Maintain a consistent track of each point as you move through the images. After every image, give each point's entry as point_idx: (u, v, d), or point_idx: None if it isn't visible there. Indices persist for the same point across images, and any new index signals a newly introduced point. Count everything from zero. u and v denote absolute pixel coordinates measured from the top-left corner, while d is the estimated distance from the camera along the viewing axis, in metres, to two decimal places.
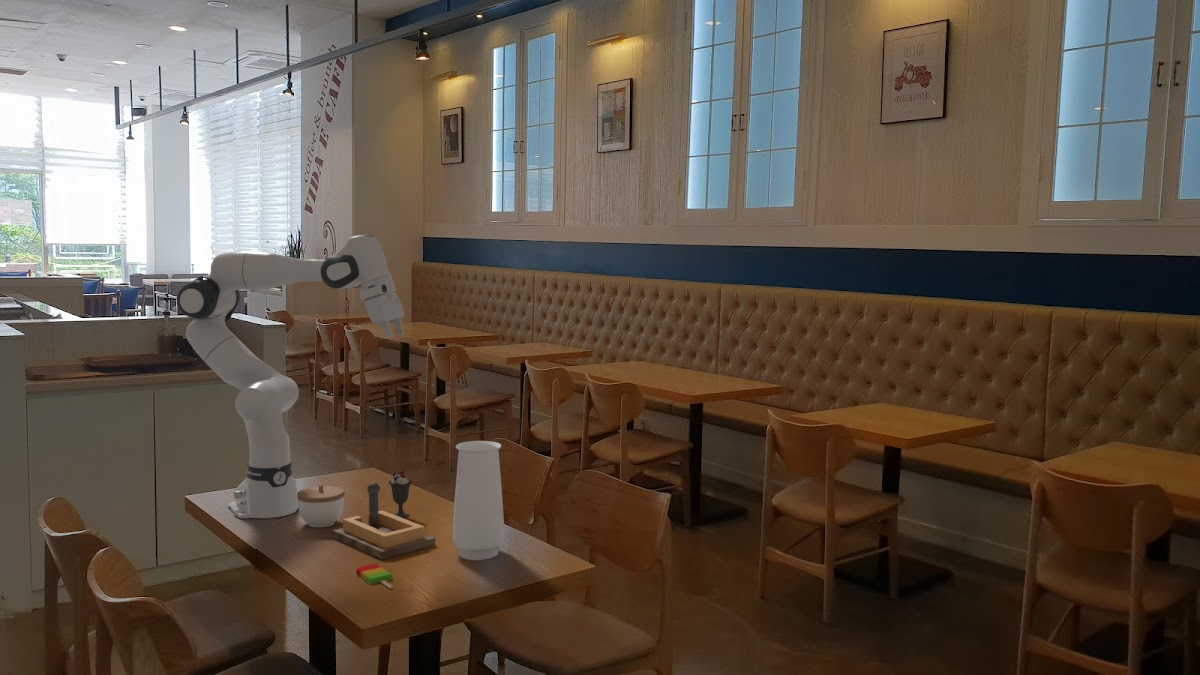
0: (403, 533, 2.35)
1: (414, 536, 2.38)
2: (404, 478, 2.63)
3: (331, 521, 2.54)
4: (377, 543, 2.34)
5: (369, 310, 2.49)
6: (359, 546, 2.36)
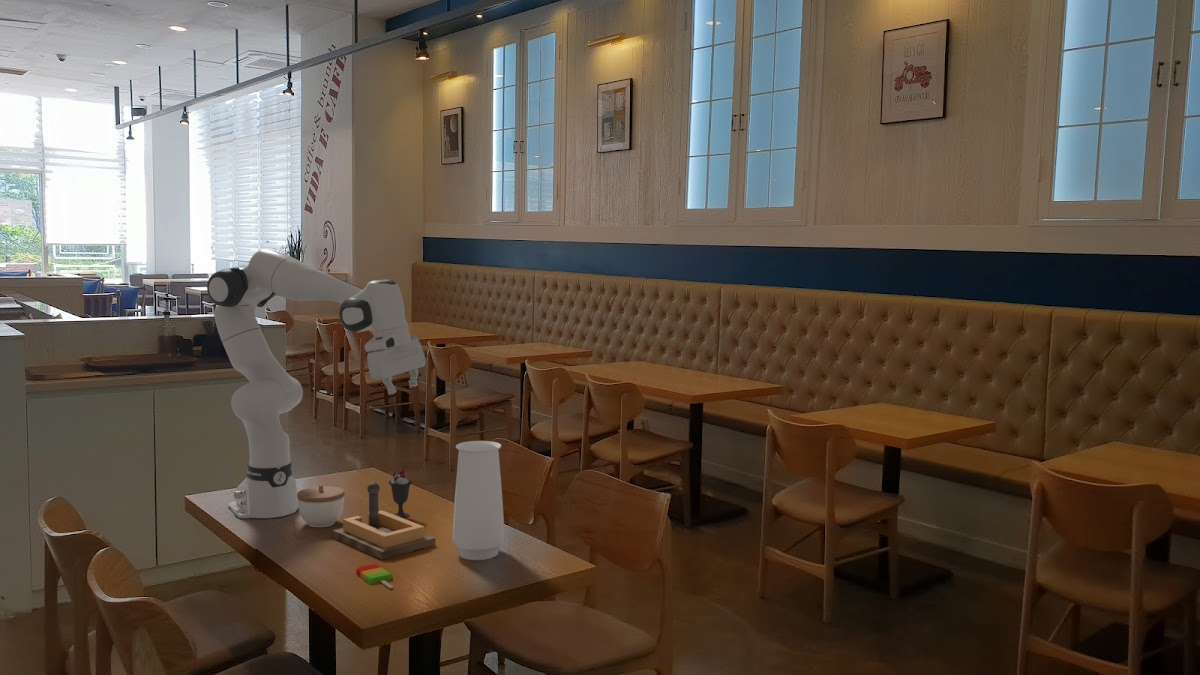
0: (403, 533, 2.35)
1: (414, 536, 2.38)
2: (404, 478, 2.63)
3: (331, 521, 2.54)
4: (377, 543, 2.34)
5: (370, 364, 2.38)
6: (359, 546, 2.36)
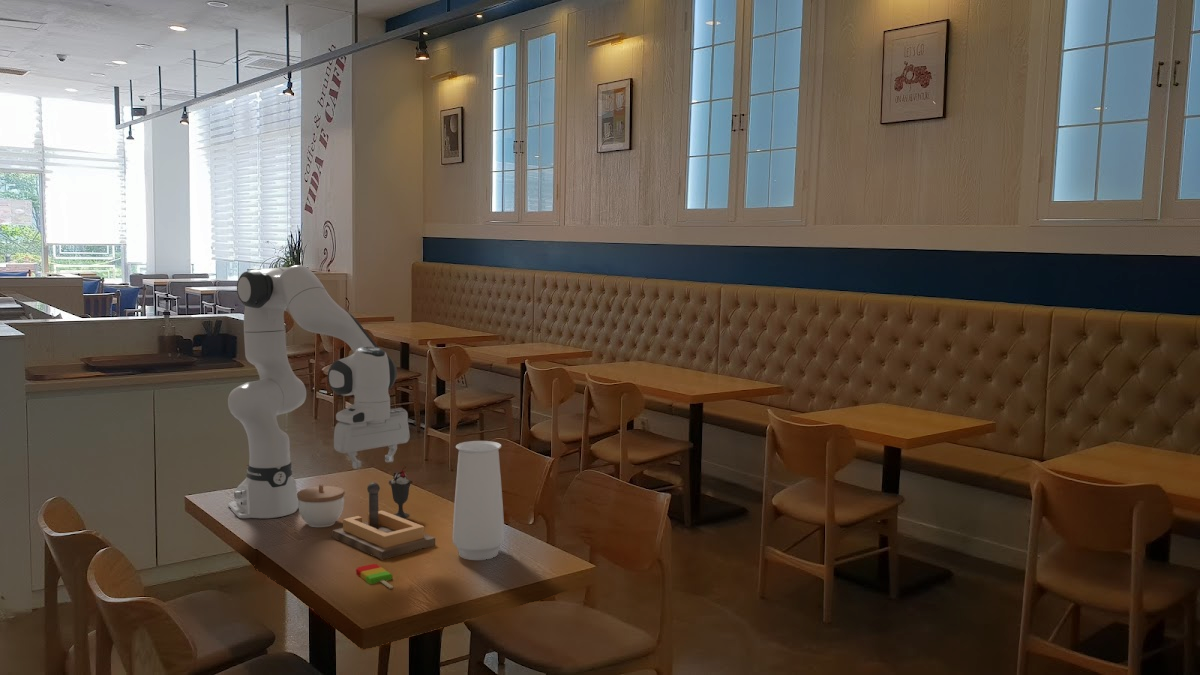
0: (403, 533, 2.35)
1: (414, 536, 2.38)
2: (404, 478, 2.63)
3: (331, 521, 2.54)
4: (377, 543, 2.34)
5: (335, 435, 2.28)
6: (359, 546, 2.36)
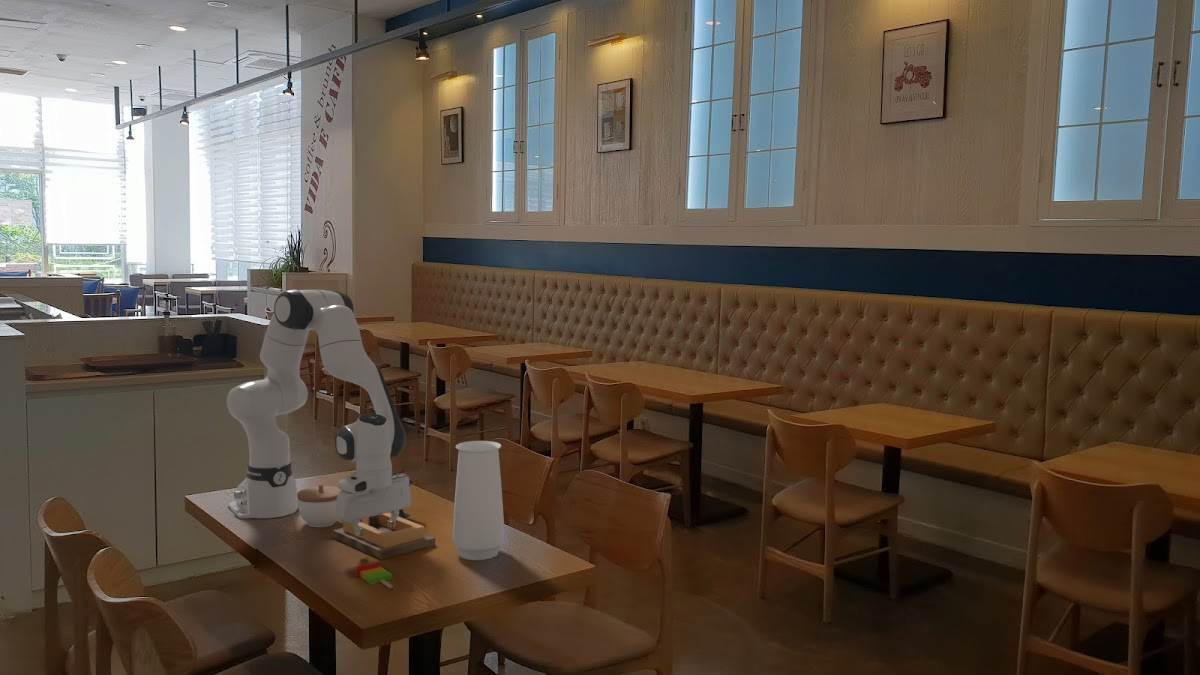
0: (403, 533, 2.35)
1: (414, 536, 2.38)
2: None
3: (331, 521, 2.54)
4: (377, 543, 2.34)
5: (337, 504, 2.29)
6: (359, 546, 2.36)
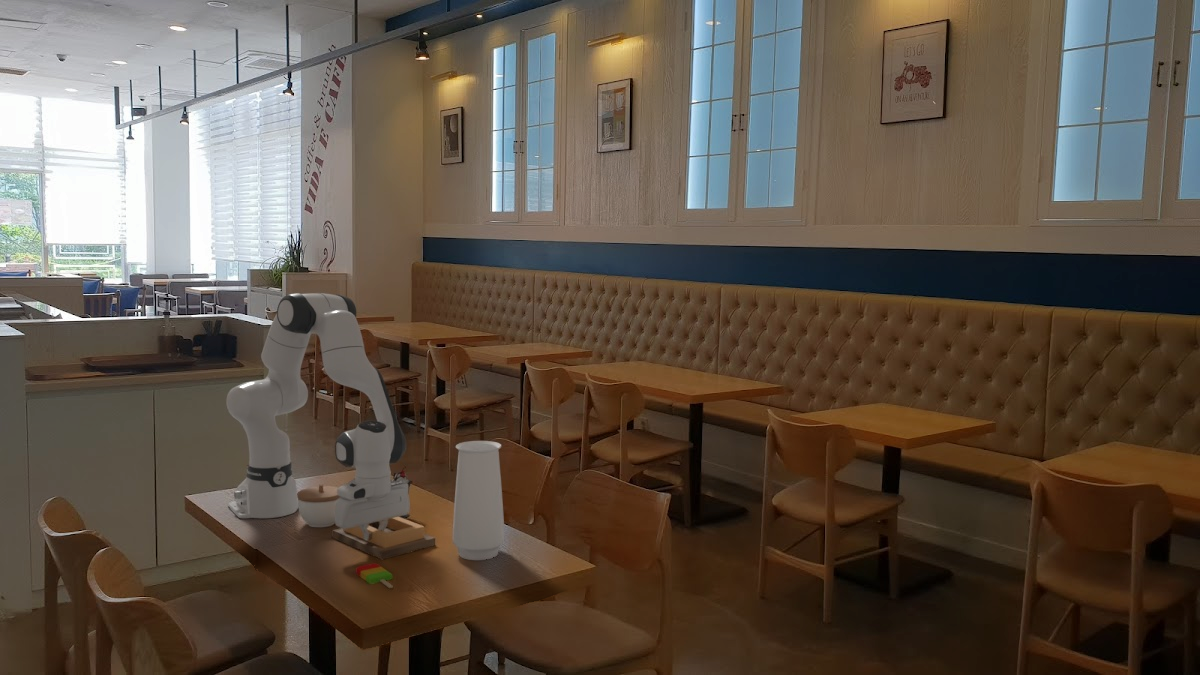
0: (403, 533, 2.35)
1: (414, 536, 2.38)
2: (404, 478, 2.63)
3: (331, 521, 2.54)
4: (377, 543, 2.34)
5: (336, 510, 2.30)
6: (359, 546, 2.36)
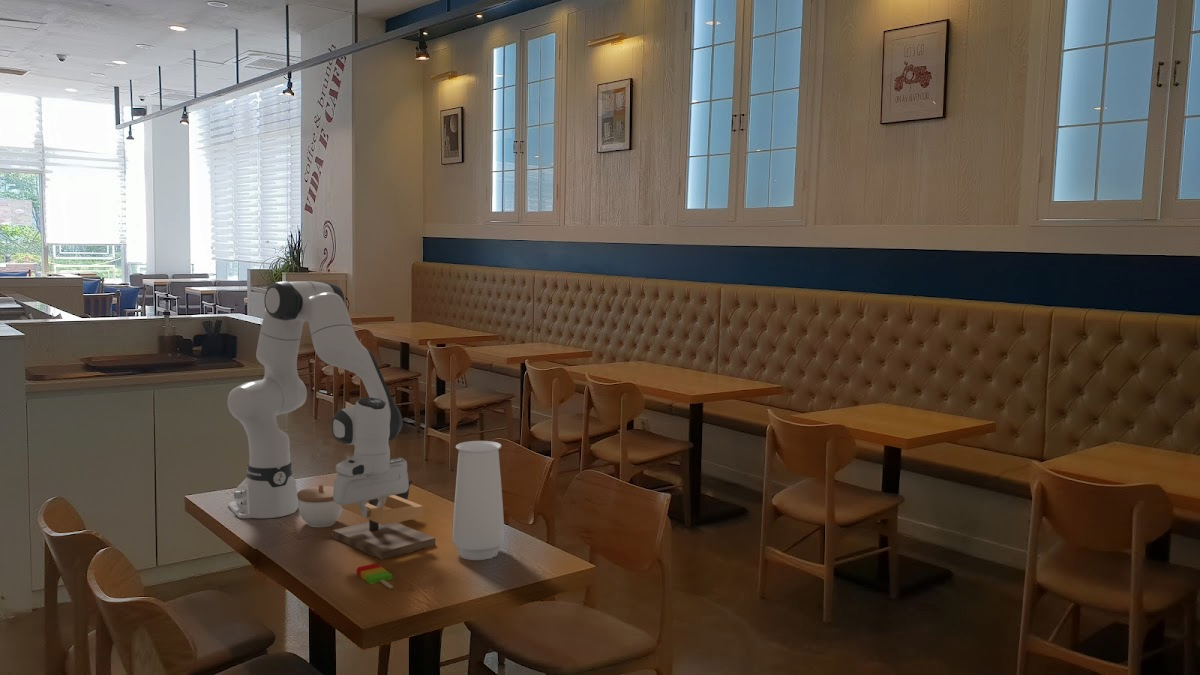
0: (401, 511, 2.35)
1: (412, 515, 2.37)
2: None
3: (331, 521, 2.54)
4: (375, 520, 2.33)
5: (334, 487, 2.29)
6: (359, 546, 2.36)
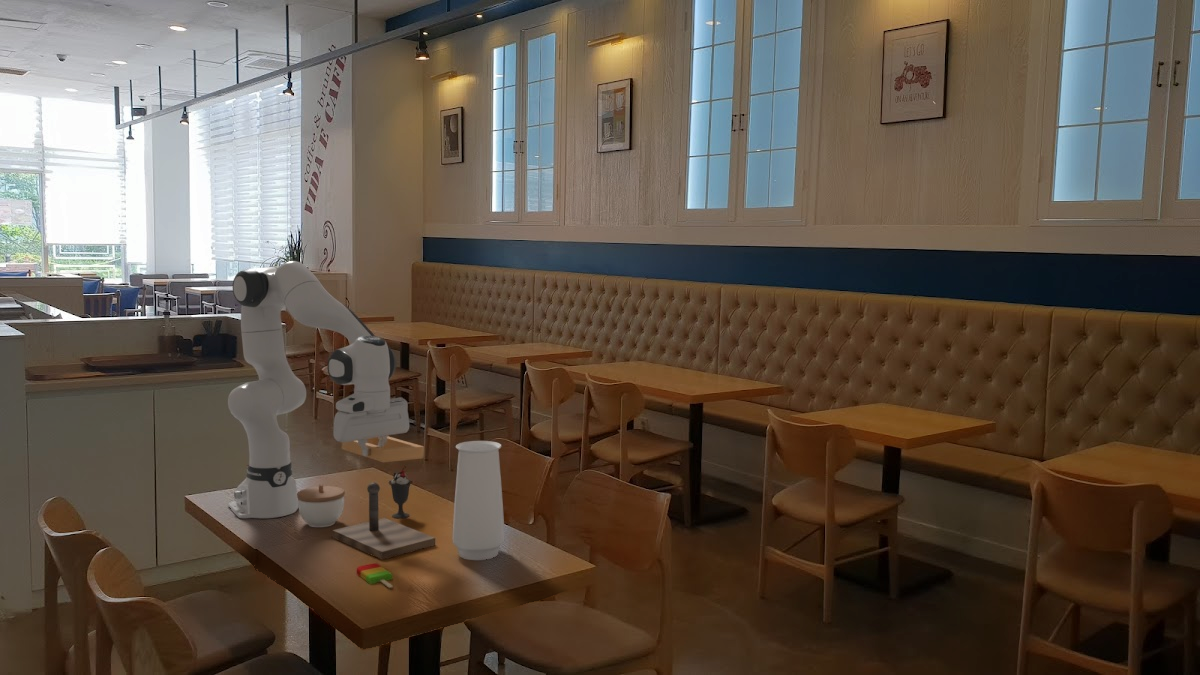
0: (402, 450, 2.33)
1: (413, 455, 2.35)
2: (404, 478, 2.63)
3: (331, 521, 2.54)
4: (376, 458, 2.31)
5: (335, 424, 2.27)
6: (359, 546, 2.36)
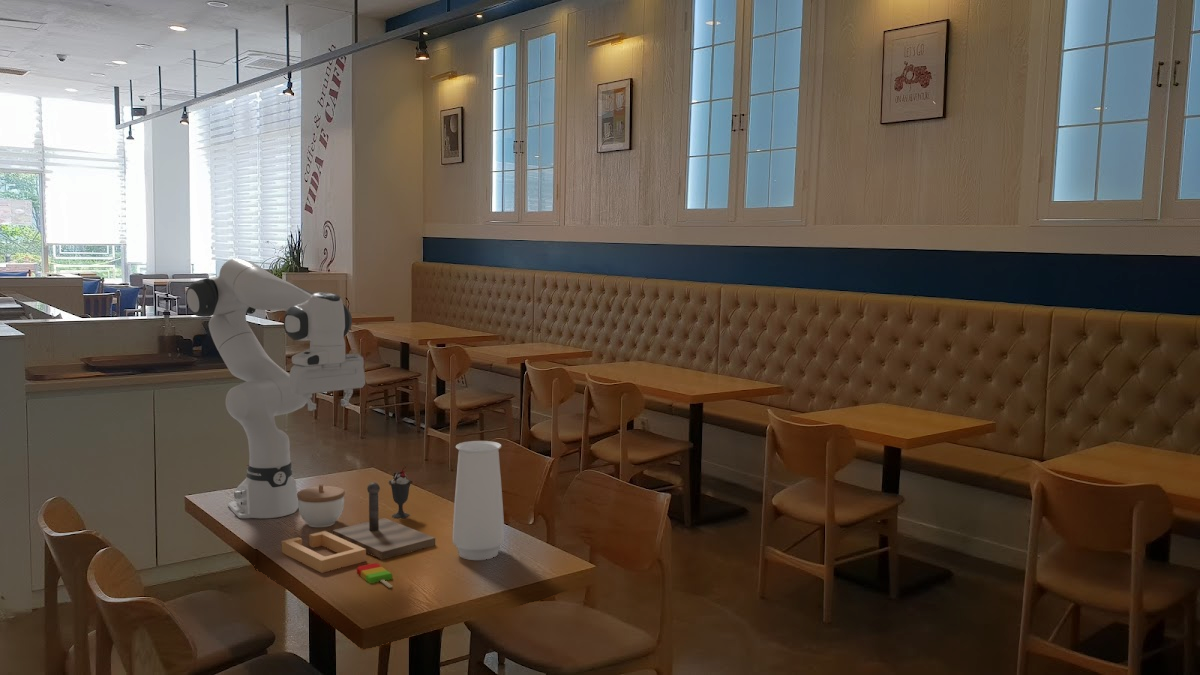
0: (342, 557, 2.23)
1: (354, 559, 2.25)
2: (404, 478, 2.63)
3: (331, 521, 2.54)
4: (314, 567, 2.21)
5: (290, 377, 2.33)
6: None
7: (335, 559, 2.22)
